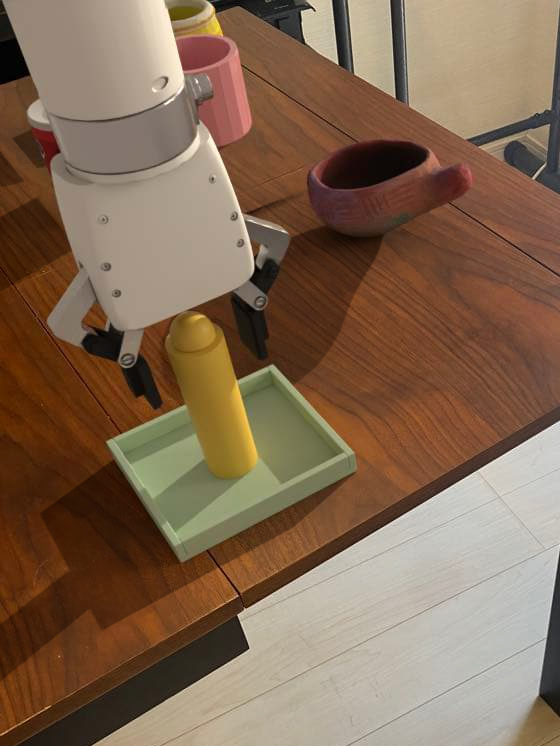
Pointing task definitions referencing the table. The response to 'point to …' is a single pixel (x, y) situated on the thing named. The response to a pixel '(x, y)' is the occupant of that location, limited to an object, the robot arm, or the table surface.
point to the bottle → (211, 394)
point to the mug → (192, 17)
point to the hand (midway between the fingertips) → (203, 372)
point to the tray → (239, 495)
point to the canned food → (42, 132)
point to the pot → (218, 84)
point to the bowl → (381, 186)
